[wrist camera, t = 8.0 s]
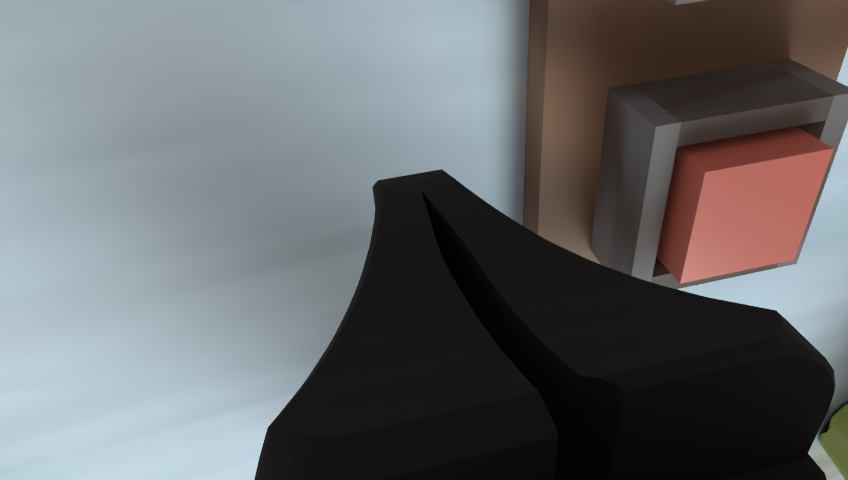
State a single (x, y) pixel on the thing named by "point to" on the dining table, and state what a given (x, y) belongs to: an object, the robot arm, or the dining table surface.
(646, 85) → the block
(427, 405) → the robot arm
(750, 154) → the red button
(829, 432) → the plant pot
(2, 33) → the dining table surface
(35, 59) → the dining table surface
